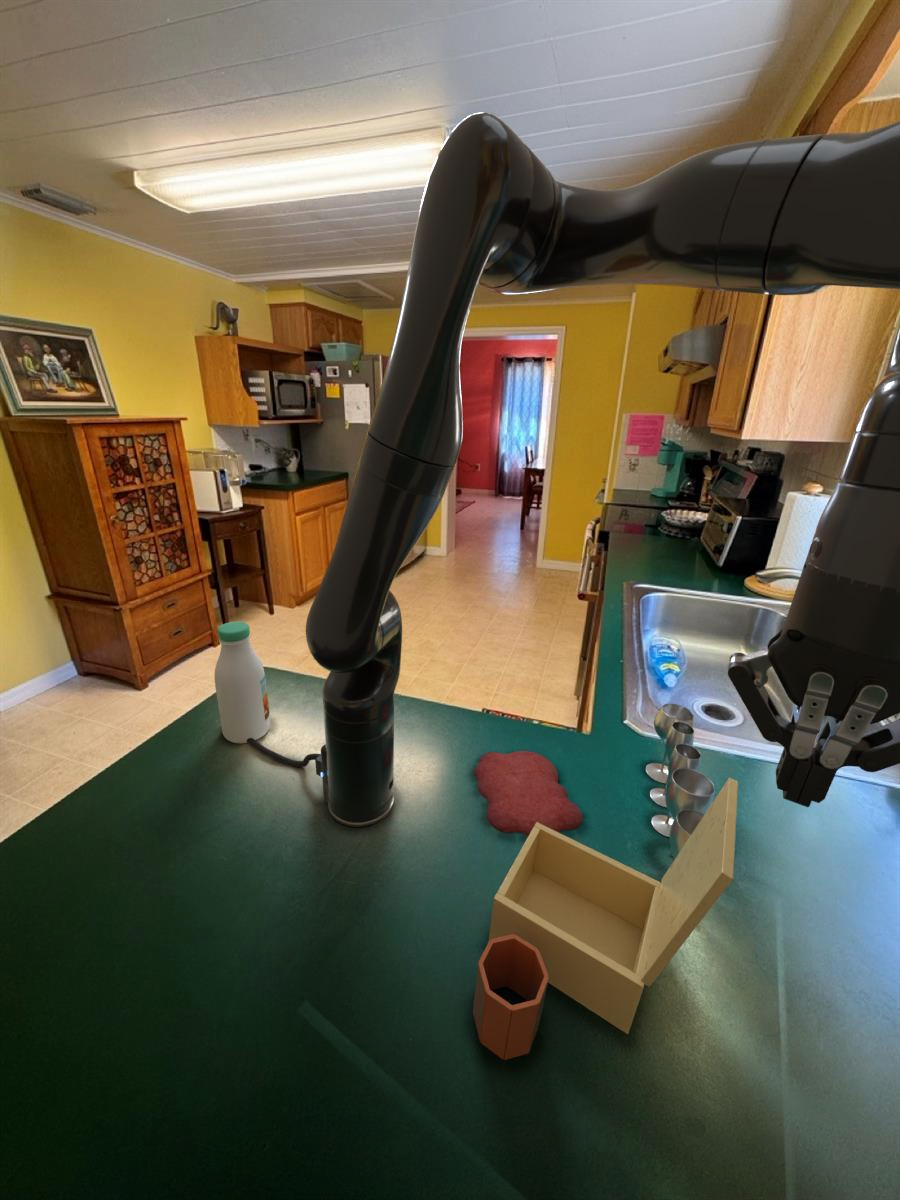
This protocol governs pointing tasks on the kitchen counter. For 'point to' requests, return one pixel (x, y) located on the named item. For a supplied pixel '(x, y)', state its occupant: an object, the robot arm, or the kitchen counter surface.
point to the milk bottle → (240, 686)
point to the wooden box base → (580, 920)
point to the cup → (495, 1017)
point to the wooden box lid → (693, 881)
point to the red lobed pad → (524, 793)
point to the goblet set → (679, 777)
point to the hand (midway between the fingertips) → (794, 795)
